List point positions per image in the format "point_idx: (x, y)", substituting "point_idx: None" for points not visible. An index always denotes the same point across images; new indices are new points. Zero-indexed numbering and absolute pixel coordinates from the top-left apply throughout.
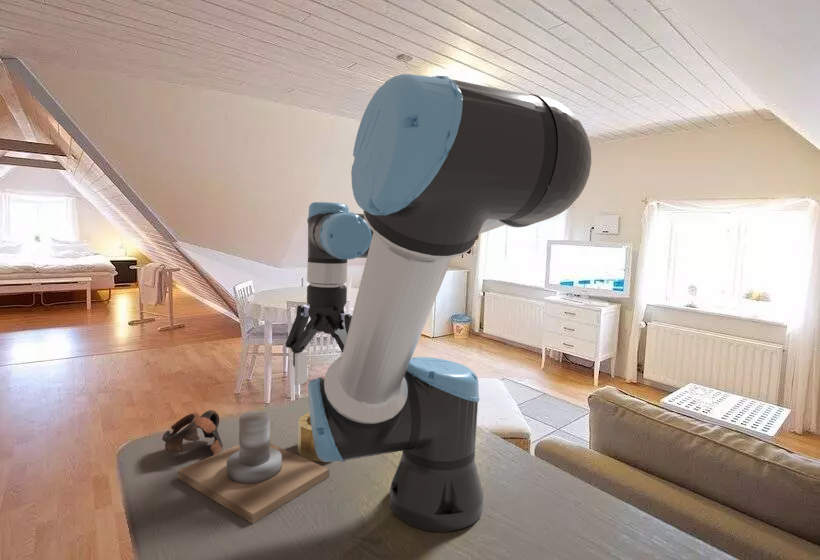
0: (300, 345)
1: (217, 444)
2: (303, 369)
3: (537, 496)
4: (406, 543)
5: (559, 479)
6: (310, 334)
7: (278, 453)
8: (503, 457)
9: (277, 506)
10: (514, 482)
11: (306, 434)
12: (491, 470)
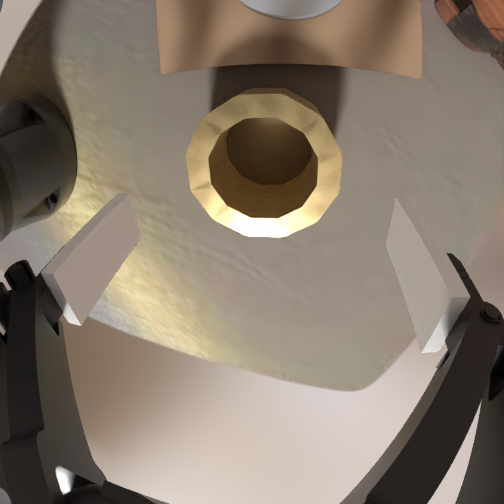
0: (453, 355)
1: (450, 11)
2: (406, 266)
3: (10, 238)
4: (10, 74)
5: None
6: (382, 467)
7: (263, 6)
8: None
9: None
10: (30, 249)
11: (258, 92)
12: None
